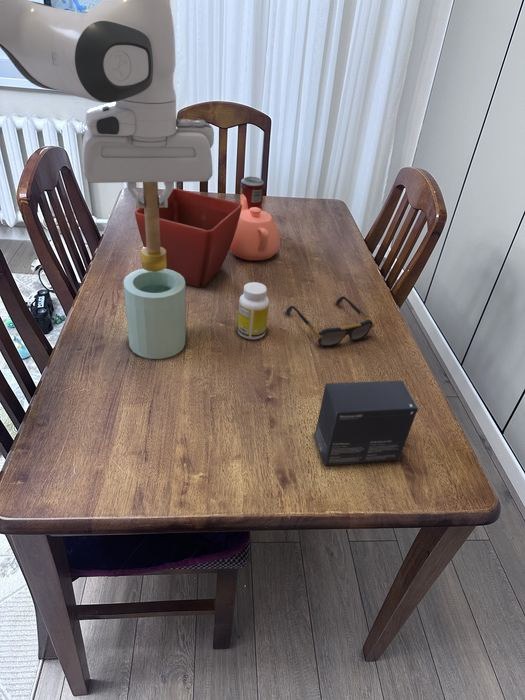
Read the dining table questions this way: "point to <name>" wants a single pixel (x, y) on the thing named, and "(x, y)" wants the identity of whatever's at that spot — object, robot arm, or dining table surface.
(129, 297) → the mint green tube
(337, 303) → the sunglasses
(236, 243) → the teapot
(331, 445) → the small box
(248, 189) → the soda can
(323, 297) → the dining table surface
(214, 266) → the flower pot
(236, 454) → the dining table surface
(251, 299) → the pill bottle
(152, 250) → the beige handle with collar
